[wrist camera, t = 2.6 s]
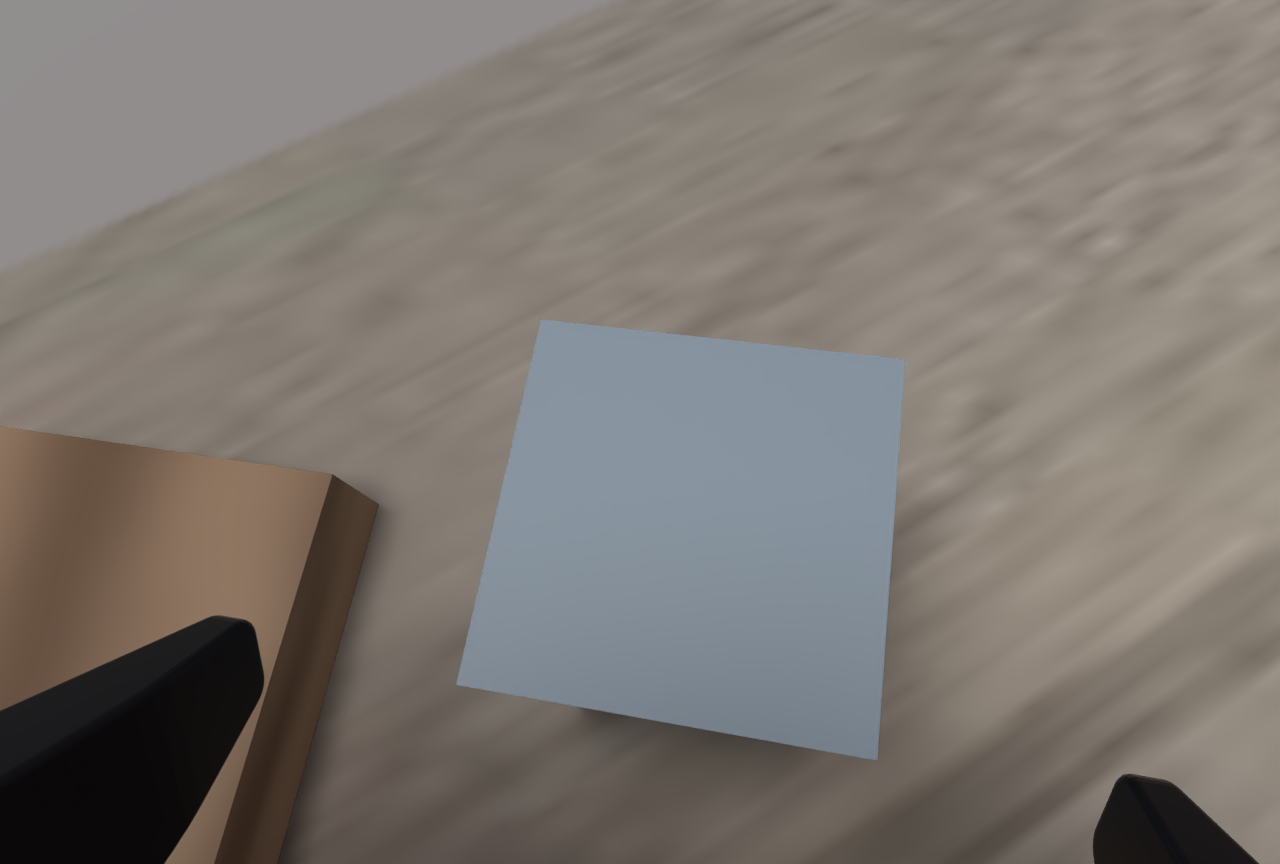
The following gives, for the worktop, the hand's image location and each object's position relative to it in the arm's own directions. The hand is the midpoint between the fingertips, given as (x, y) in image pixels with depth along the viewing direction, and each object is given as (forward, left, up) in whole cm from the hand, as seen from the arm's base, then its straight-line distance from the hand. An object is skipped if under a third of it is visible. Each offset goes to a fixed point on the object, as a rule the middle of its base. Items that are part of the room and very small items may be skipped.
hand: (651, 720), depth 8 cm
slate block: (+1, -2, -10) cm, 10 cm away
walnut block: (+13, +5, -11) cm, 17 cm away
